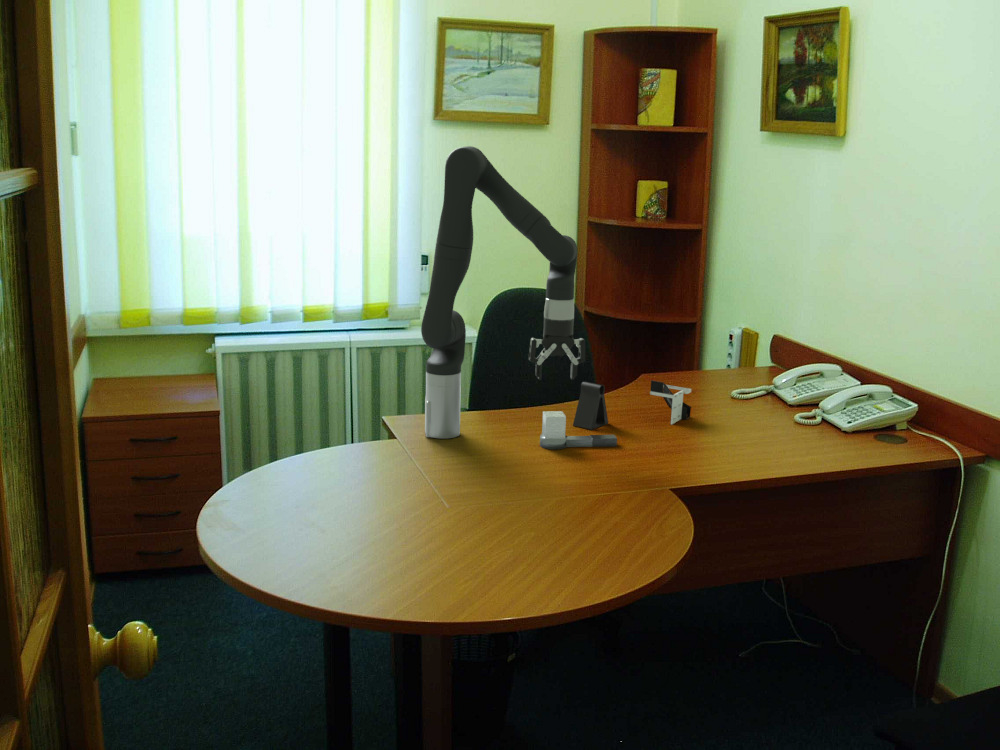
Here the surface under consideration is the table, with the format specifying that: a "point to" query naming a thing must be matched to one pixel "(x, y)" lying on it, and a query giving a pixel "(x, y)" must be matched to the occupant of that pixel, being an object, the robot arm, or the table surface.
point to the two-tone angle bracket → (672, 400)
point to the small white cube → (553, 425)
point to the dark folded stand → (591, 407)
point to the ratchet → (579, 441)
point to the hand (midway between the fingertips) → (556, 378)
